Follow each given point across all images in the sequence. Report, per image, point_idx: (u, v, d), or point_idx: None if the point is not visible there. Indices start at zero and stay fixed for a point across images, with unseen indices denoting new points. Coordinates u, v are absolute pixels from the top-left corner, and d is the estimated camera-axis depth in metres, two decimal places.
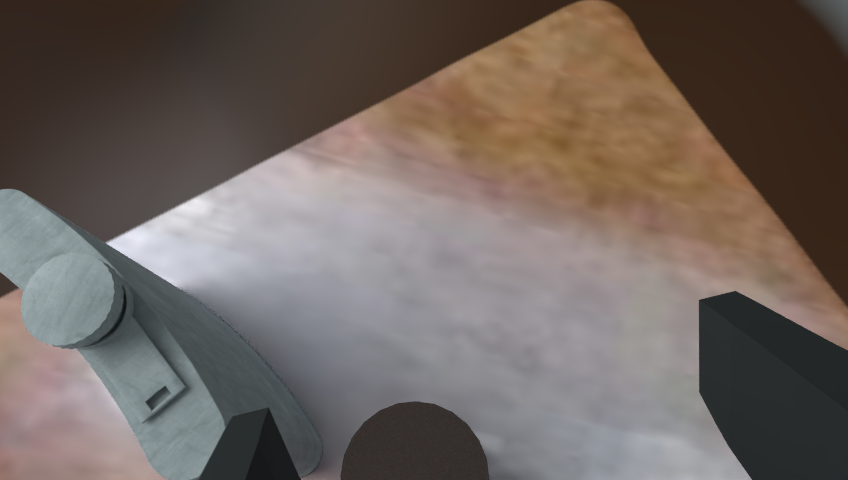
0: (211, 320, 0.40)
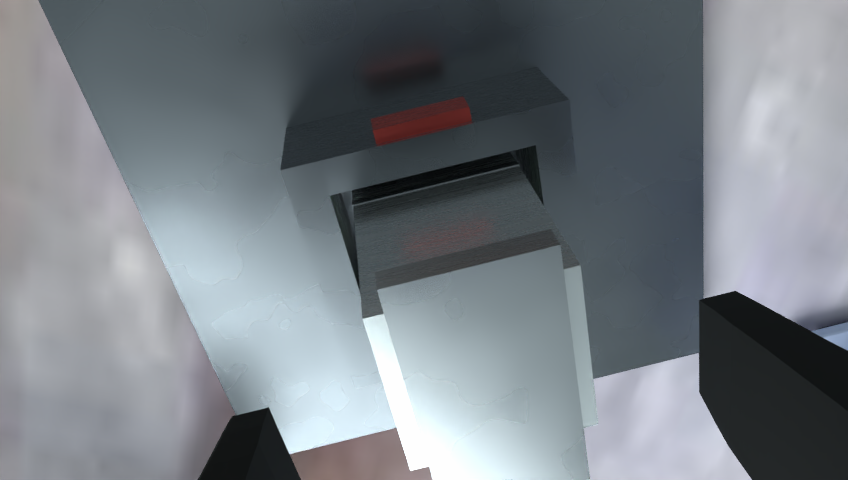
0: None
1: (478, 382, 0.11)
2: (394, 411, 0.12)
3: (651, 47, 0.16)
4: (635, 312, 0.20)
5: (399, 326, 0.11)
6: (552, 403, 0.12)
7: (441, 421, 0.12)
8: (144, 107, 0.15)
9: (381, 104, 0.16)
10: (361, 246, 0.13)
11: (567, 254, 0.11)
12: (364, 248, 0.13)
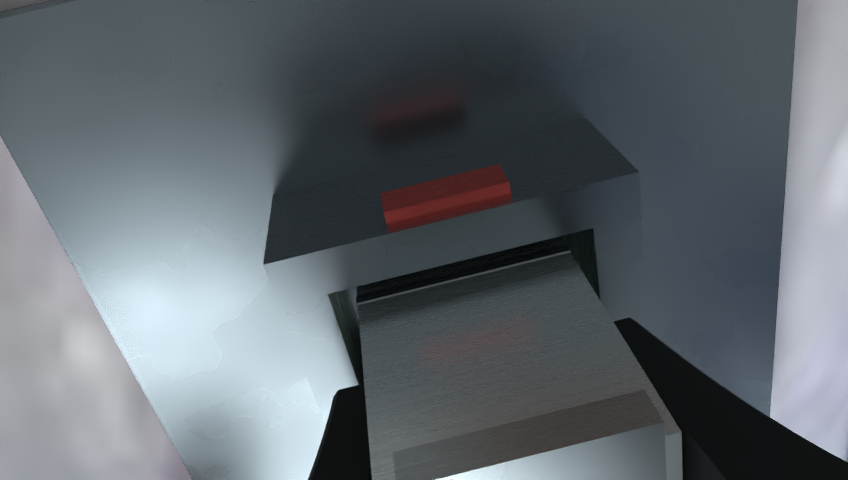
0: None
1: None
2: None
3: (728, 93, 0.13)
4: None
5: None
6: None
7: None
8: (92, 173, 0.12)
9: (392, 166, 0.13)
10: (369, 373, 0.10)
11: (659, 410, 0.08)
12: (374, 377, 0.10)
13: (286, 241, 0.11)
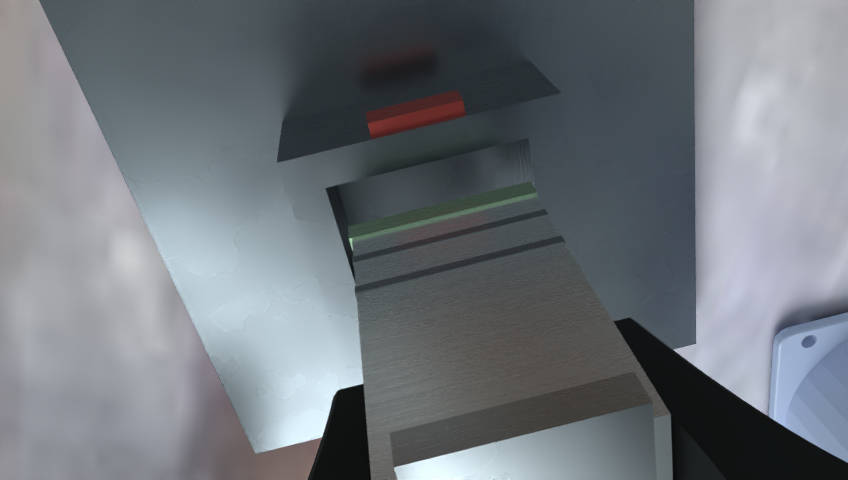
0: None
1: None
2: None
3: (643, 41, 0.16)
4: (628, 304, 0.20)
5: None
6: None
7: None
8: (141, 101, 0.16)
9: (376, 98, 0.16)
10: (367, 360, 0.10)
11: (649, 393, 0.08)
12: (371, 364, 0.10)
13: (293, 148, 0.15)
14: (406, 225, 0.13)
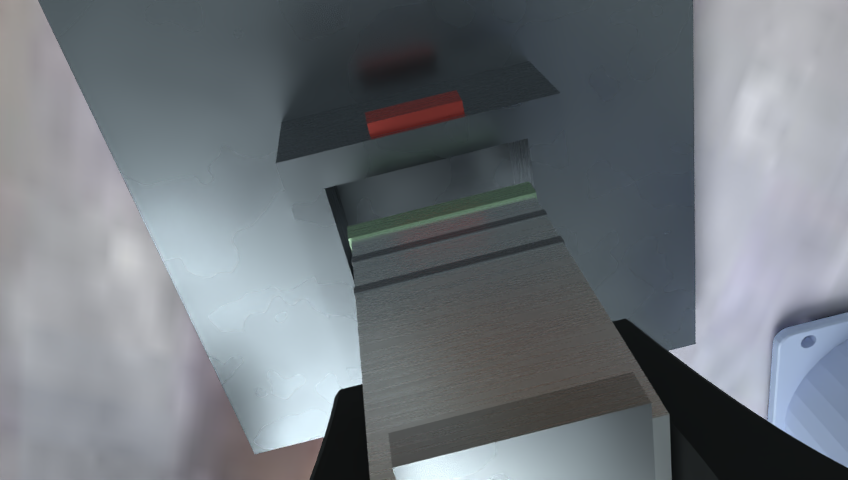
0: None
1: None
2: None
3: (642, 42, 0.16)
4: (628, 305, 0.20)
5: None
6: None
7: None
8: (141, 101, 0.16)
9: (375, 98, 0.16)
10: (367, 360, 0.10)
11: (647, 393, 0.08)
12: (370, 364, 0.10)
13: (293, 148, 0.15)
14: (405, 225, 0.13)
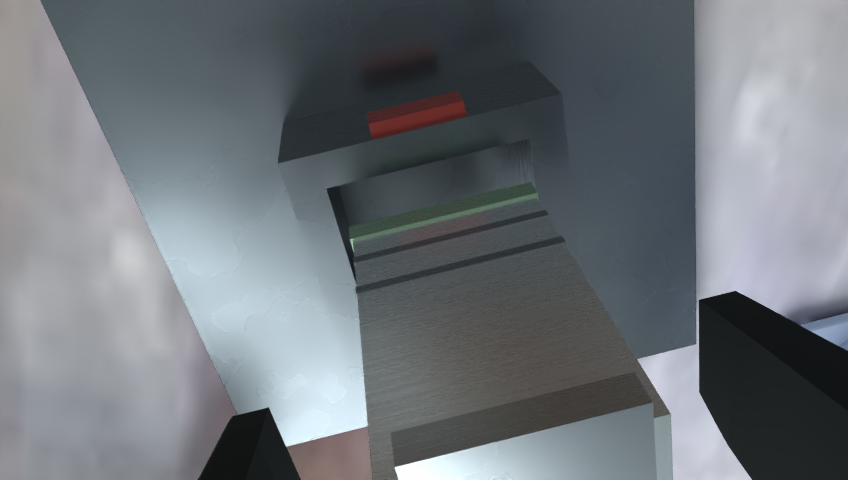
0: None
1: None
2: None
3: (643, 42, 0.16)
4: (629, 305, 0.20)
5: None
6: None
7: None
8: (143, 102, 0.16)
9: (377, 99, 0.16)
10: (368, 360, 0.10)
11: (649, 393, 0.08)
12: (372, 364, 0.10)
13: (294, 149, 0.15)
14: (407, 226, 0.13)
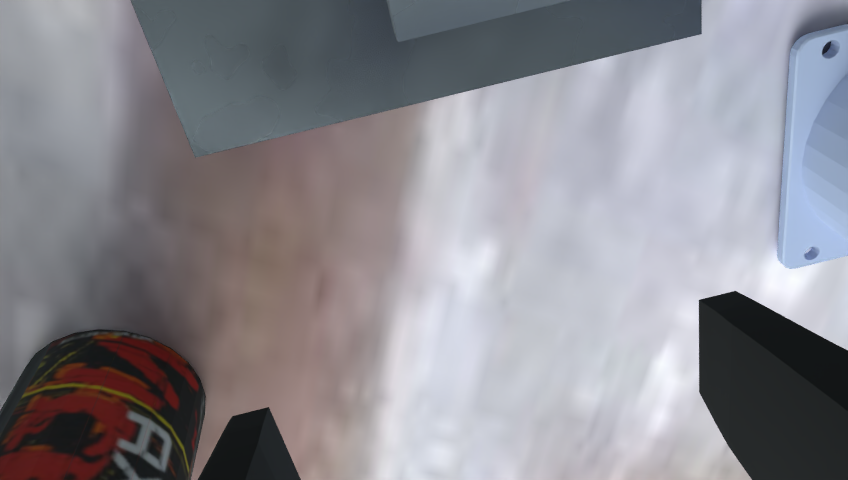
0: None
1: None
2: None
3: None
4: None
5: None
6: None
7: None
8: None
9: None
10: None
11: None
12: None
13: None
14: None
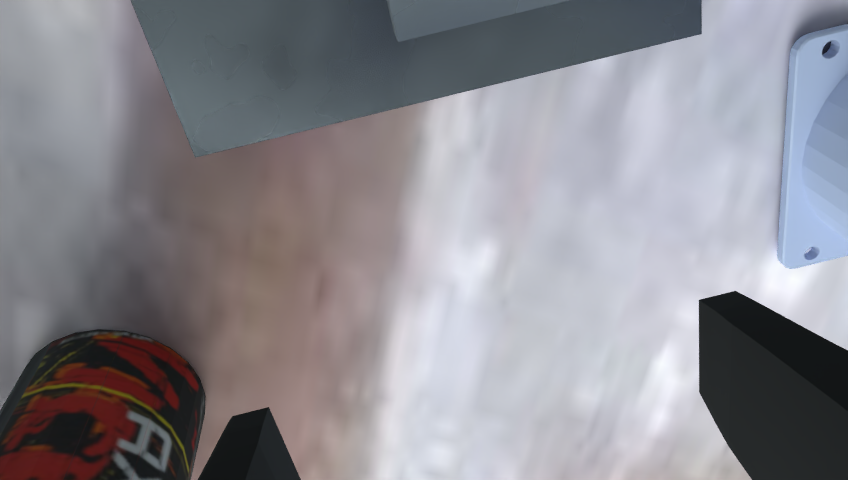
0: None
1: None
2: None
3: None
4: None
5: None
6: None
7: None
8: None
9: None
10: None
11: None
12: None
13: None
14: None
